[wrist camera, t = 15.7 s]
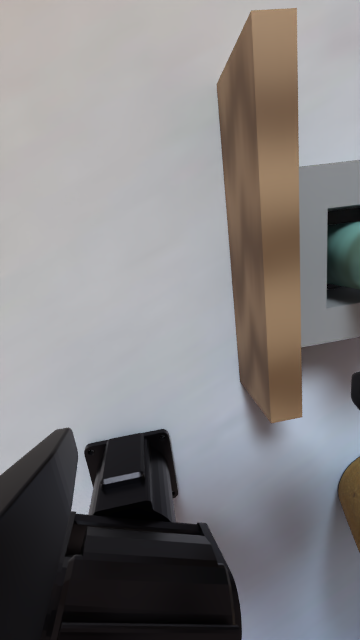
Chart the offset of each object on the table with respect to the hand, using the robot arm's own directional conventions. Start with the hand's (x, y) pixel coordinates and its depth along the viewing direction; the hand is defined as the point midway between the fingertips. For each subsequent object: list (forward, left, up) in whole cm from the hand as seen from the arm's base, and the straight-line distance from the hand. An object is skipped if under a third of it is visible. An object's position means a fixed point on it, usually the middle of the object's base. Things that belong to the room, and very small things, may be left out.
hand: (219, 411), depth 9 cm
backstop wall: (+4, -5, -12) cm, 14 cm away
